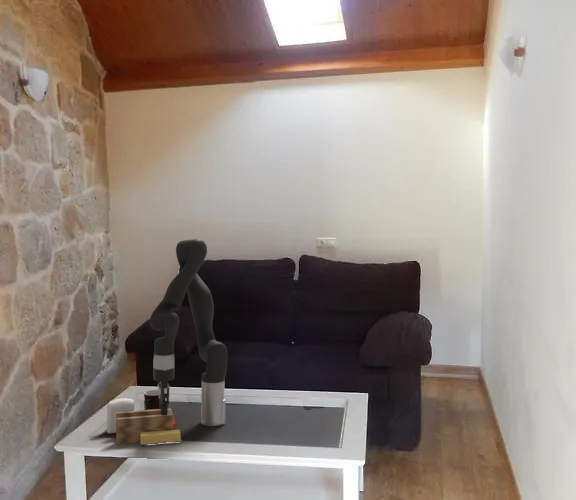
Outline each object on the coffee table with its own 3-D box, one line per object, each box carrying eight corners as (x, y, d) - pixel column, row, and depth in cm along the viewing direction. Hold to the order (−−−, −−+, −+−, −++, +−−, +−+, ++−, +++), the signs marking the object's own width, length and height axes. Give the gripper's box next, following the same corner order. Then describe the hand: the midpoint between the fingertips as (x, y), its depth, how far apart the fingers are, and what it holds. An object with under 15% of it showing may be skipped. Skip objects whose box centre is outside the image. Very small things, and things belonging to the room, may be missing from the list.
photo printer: (131, 427, 224) (132, 395, 224) (135, 430, 221) (135, 398, 220) (105, 431, 218) (105, 399, 218) (108, 434, 215) (108, 402, 215)
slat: (179, 437, 211) (179, 429, 211) (180, 441, 207) (180, 432, 207) (140, 440, 207) (140, 432, 207) (140, 444, 203) (140, 436, 203)
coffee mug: (155, 412, 244) (155, 388, 244) (169, 415, 239) (169, 392, 239) (133, 418, 235) (133, 394, 235) (147, 422, 230) (147, 398, 230)
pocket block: (170, 431, 220) (170, 408, 220) (173, 439, 211) (173, 415, 211) (116, 436, 213) (116, 412, 213) (116, 444, 205) (117, 419, 205)
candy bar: (175, 430, 222) (175, 422, 222) (166, 431, 221) (166, 423, 221) (173, 418, 237) (173, 410, 237) (164, 418, 236) (164, 411, 236)
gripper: (151, 362, 213) (151, 407, 213) (155, 371, 199) (154, 418, 199) (172, 361, 215) (171, 405, 215) (176, 370, 201) (176, 417, 202)
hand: (163, 412), depth 207 cm, fingers open, 6 cm apart
